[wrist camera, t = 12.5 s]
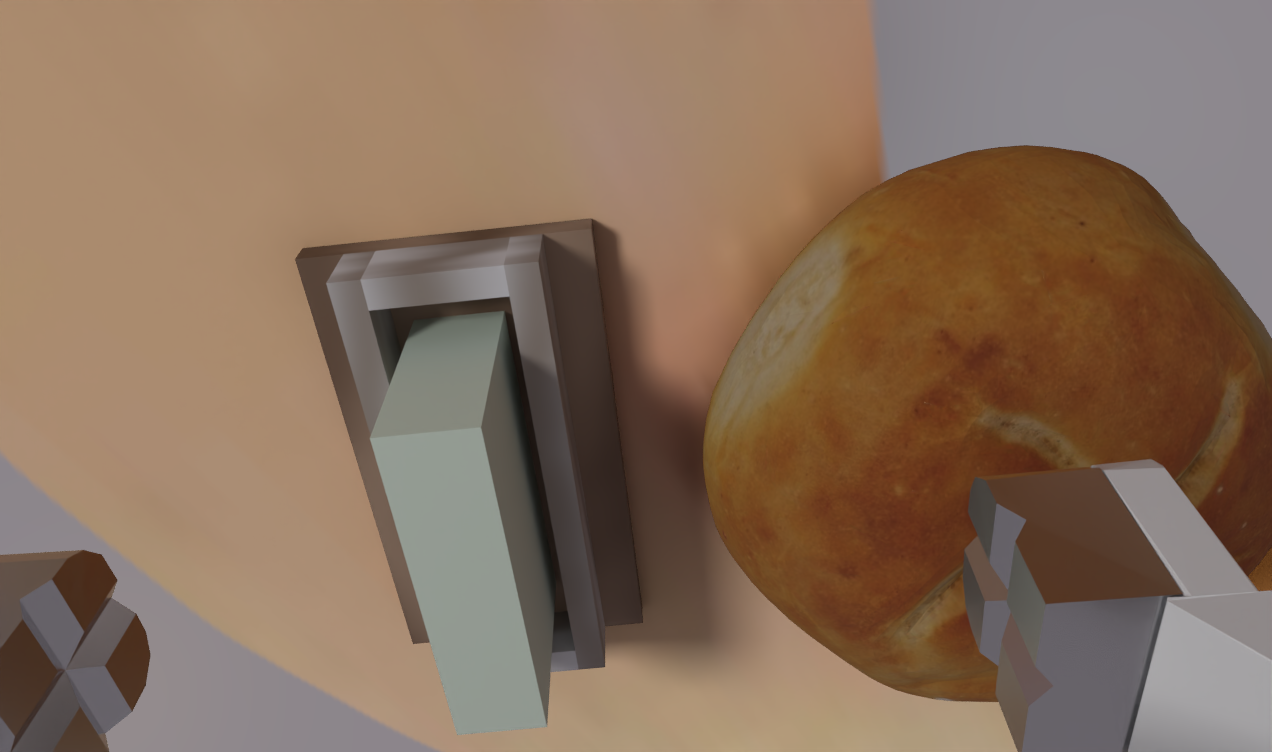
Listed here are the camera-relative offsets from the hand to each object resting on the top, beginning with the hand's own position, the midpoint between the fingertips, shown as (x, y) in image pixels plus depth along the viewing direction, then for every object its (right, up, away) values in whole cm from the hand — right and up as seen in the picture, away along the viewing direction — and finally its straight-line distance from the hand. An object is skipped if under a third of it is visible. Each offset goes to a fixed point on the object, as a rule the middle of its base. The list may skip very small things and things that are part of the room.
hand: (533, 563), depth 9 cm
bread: (+15, +1, +32) cm, 35 cm away
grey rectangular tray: (-5, -1, +32) cm, 32 cm away
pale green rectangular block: (-5, -2, +31) cm, 32 cm away
